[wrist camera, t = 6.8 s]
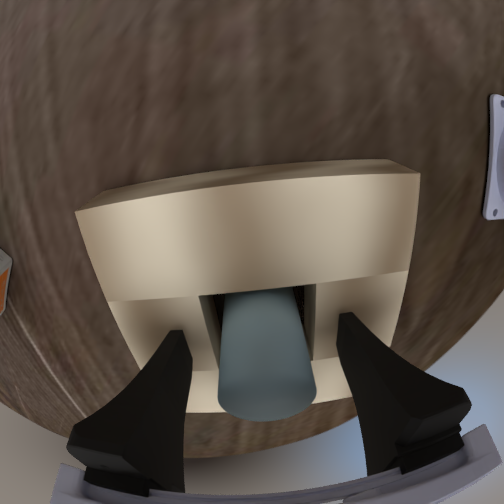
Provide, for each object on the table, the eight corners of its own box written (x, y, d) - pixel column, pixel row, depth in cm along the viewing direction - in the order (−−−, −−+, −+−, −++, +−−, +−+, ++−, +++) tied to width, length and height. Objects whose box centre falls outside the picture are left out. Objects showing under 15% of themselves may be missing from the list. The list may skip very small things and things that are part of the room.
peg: (292, 259, 15) (322, 363, 9) (290, 313, 16) (311, 416, 10) (222, 262, 15) (210, 371, 9) (228, 316, 16) (223, 422, 10)
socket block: (388, 159, 12) (420, 173, 10) (363, 359, 19) (375, 390, 16) (104, 190, 13) (74, 211, 10) (172, 378, 19) (165, 411, 17)
